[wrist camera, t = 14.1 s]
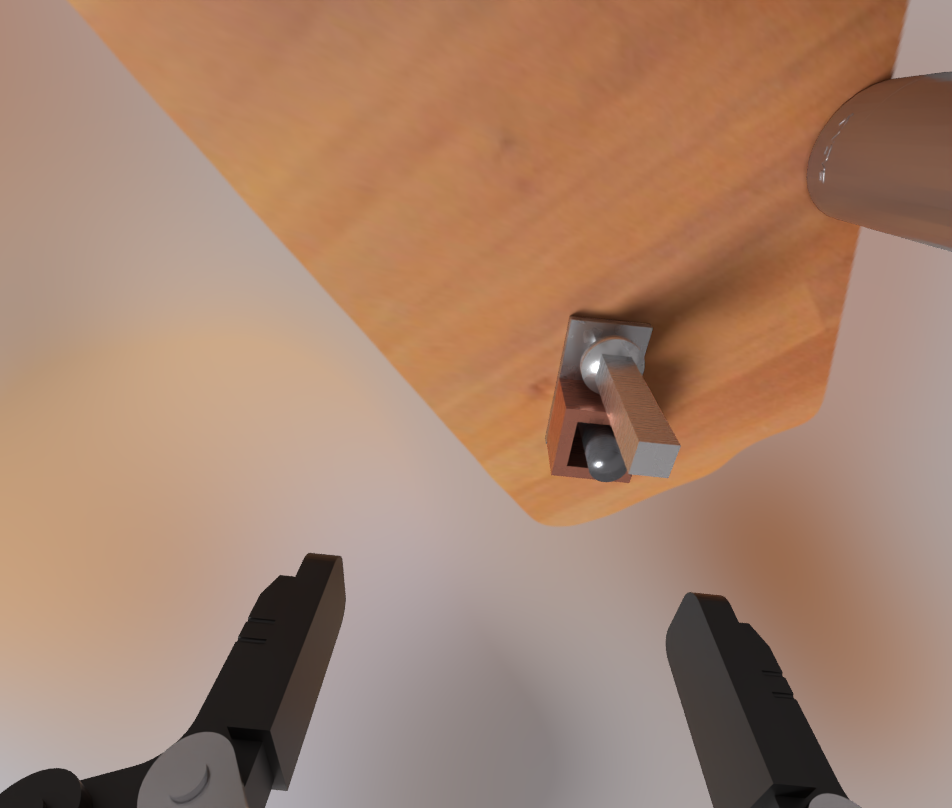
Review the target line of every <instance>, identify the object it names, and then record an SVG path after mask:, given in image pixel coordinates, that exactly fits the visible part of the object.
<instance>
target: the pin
mask: <svg viewBox="0 0 952 808" xmlns="http://www.w3.org/2000/svg"><path fill="white" fill-rule="evenodd" d="M578 426H579V430H580V434H581V439H582V443H583V447H584V452H585V456H586V460H587V465H588V469H589V473H590V475H591V476H592V477H593V478H594V479H596V480H598V481H601V482H611V481H615V480H617V479H619V478H621V477H622V476H623V475H624V474H625V473H626V471H627V468H626V466H625V463H624V460H623V457H622V455H621V452H620V449H619V446H618V443H617V441H616V438H615V435H614V432H613V429H612V427H611V425H603V424H593V423H583V422H578Z"/></svg>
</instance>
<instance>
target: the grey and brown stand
mask: <svg viewBox="0 0 952 808" xmlns="http://www.w3.org/2000/svg"><path fill="white" fill-rule="evenodd" d="M652 330H653V327H652V326H651V325H650V324H646V323H637V322H627V321H617V320H607V319H598V318H588V317H578V316H570V317H569V322H568V327H567V332H566V337H565V342H564V347H563V352H562V357H561V362H560V367H559V372H558V377H557V382H556V387H555V392H554V397H553V402H552V407H551V412H550V417H549V422H548V426H547V431H546V436H545V440H546V444H547V447H548V454H549V462H550V469H551V475H556V476H566V477H576V478H586V479H594V478H593V477H592V476H591V475H590V473H589V469H588V465H587V460H586V456H585V452H584V447H583V443H582V439H581V434H580V430H579V426H578V422H583V423H593V424H603V425H611V427H612V429H613V432H614V435H615V438H616V441H617V443H618V446H619V449H620V452H621V455H622V457H623V460H624V463H625V466H626V468H627V471H626V473H625V474H624V475H623V476H622V477H621V478H619V479H617V480H615V482H625V483H629V482H630V479H631V476H632V474H633V475H643V476H653V477H663V478H668V477H669V475H670V472H671V470H672V467H673V465H674V462H675V459H676V457H677V454H678V452H679V449H680V447H681V445H680V443H679V442H678V440H677V438H676V436H675V434H674V433H673V431H672V429H671V427H670V425H669V424H668V422H667V420H666V418H665V416H664V414H663V413H662V411H661V409H660V407H659V405H658V404H657V402H656V400H655V398H654V396H653V395H652V393H651V391H650V389H649V387H648V386H647V384H646V382H645V380H644V378H643V377H642V375H643V372H644V368H645V361H644V356H645V353H646V349H647V346H648V343H649V340H650V336H651V333H652Z"/></svg>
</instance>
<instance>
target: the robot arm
mask: <svg viewBox="0 0 952 808" xmlns="http://www.w3.org/2000/svg"><path fill="white" fill-rule="evenodd" d="M807 184H808V191H809V193H810V196H811V199H812V201H813V202H814V203H815V205H816V206H817V207H818V209H819V210H821V211H822V212H823V213H825V214H826V215H828V216H830V217H833V218H836V219H838V220H842V221H845V222H849V223H853V224H856V225H860V226H863V227H866V228H870V229H873V230H876V231H880V232H884V233H887V234H891V235H894V236H898V237H901V238H905V239H908V240H912V241H915V242H919V243H923V244H926V245H930V246H933V247H937V248H941V249H944V250H948V251H951V252H952V72H942V73H935V74H927V75H919V76H911V77H904V78H896V79H889V80H886V81H883V82H880V83H877V84H874V85H872V86H870V87H869V88H867V89H865V90H863V91H861V92H860V93H858V94H856V95H855V96H854V97H853V98H851V99H850V100H849V101H848V102H846V103H845V104H844V105H843V106H842V107H841V108H840V109H839V110H838V111H837V112H836V113H835V114H834V115H833V116H832V117H831V118H830V120H829V121H828V123H827V124H826V125H825V127H824V128H823V130H822V131H821V132H820V134H819V136H818V138H817V140H816V142H815V144H814V146H813V149H812V152H811V155H810V158H809V162H808V169H807ZM345 602H346V595H345V584H344V574H343V562H342V558H341V556H335V555H325V554H315V553H308V554H307V555H306V556H305V558H304V560H303V562H302V564H301V566H300V568H299V570H298V572H297V575H296V577H293V576H283V575H280V576H279V577H278V578H276V580H275V581H273V582H272V583H271V585H269V586H268V587H267V588H266V589H265V590H264V591H263V592H262V593H261V594H260V596H259V598H258V600H257V602H256V604H255V606H254V607H253V609H252V611H251V613H250V615H249V617H248V622H246V623H245V625H244V627H243V629H242V631H241V633H240V635H239V636H238V641H237V642H235V644H234V646H233V648H232V650H231V652H230V654H229V656H228V658H227V660H226V662H225V664H224V665H223V667H222V669H221V671H220V673H219V675H218V677H217V679H216V681H215V683H214V685H213V687H212V689H211V691H210V692H209V695H208V696H207V698H206V700H205V702H204V704H203V706H202V708H201V710H200V712H199V714H198V716H197V717H196V719H195V721H194V722H193V724H192V725H191V727H190V728H189V729H188V731H187V732H186V733H185V734H184V735H183V736H182V737H181V738H180V739H179V740H178V741H177V742H176V743H175V744H173V745H172V746H171V747H169V748H168V749H167V750H166V751H165V752H164V753H162V754H160V755H159V756H157V757H155V758H154V759H151V760H149V761H147V762H145V763H142V764H139V765H136V766H133V767H129V768H125V769H121V770H117V771H114V772H110V773H106V774H103V775H99V776H95V777H91V778H87V779H84V780H79V779H78V778H77V776H76V775H74V774H73V773H72V772H71V771H68V770H66V769H60V768H56V769H55V768H54V769H47V770H42V771H39V772H36V773H33V774H31V775H29V776H27V777H25V778H23V779H21V780H19V781H18V782H16V783H14V784H13V785H11V786H10V787H9V788H7V789H6V790H5V791H3V792H2V793H1V794H0V808H265V806H266V803H267V800H268V797H269V794H270V791H271V789H274V790H283V791H287V790H288V787H289V784H290V781H291V778H292V775H293V772H294V769H295V766H296V763H297V760H298V756H299V754H300V750H301V747H302V744H303V741H304V738H305V735H306V732H307V729H308V726H309V723H310V720H311V717H312V714H313V710H314V707H315V704H316V701H317V698H318V695H319V692H320V689H321V686H322V683H323V680H324V677H325V673H326V670H327V667H328V664H329V661H330V658H331V655H332V652H333V649H334V645H335V643H336V639H337V636H338V633H339V630H340V627H341V624H342V620H343V616H344V610H345ZM666 651H667V658H668V661H669V665H670V667H671V671H672V674H673V677H674V681H675V684H676V687H677V691H678V694H679V697H680V700H681V704H682V707H683V709H684V713H685V717H686V720H687V723H688V726H689V730H690V733H691V736H692V739H693V743H694V746H695V749H696V752H697V755H698V759H699V762H700V765H701V768H702V772H703V775H704V778H705V781H706V785H707V788H708V791H709V794H710V798H711V801H712V804H713V807H714V808H861V807H860V806H859V805H857V804H855V803H854V802H852V801H850V800H849V798H848V797H847V795H846V794H845V792H844V791H843V789H842V787H841V786H840V784H839V782H838V780H837V778H836V776H835V774H834V772H833V771H832V768H831V767H830V765H829V763H828V761H827V759H826V757H825V755H824V753H823V751H822V749H821V747H820V745H819V743H818V741H817V739H816V737H815V735H814V733H813V731H812V729H811V727H810V725H809V724H808V722H807V719H806V718H805V716H804V714H803V712H802V710H801V708H800V706H799V704H798V702H797V700H796V699H794V698H793V692H792V690H791V688H790V686H789V685H788V682H787V680H786V678H784V677H783V676H782V670H781V669H780V667H779V665H778V663H777V661H776V659H775V657H774V655H773V653H772V651H771V649H770V647H769V646H768V645H767V644H766V643H765V641H764V640H763V639H762V638H761V637H760V636H759V634H758V633H757V632H756V631H755V630H754V629H753V628H752V627H751V625H750V624H748V623H739V622H738V620H737V618H736V616H735V613H734V611H733V609H732V607H731V605H730V603H729V602H728V600H727V599H726V598H725V597H723V596H721V595H711V594H701V593H691V592H689V593H687V594H686V595H685V596H684V598H683V600H682V602H681V604H680V606H679V608H678V610H677V612H676V614H675V616H674V619H673V620H672V623H671V624H670V626H669V628H668V631H667V635H666Z"/></svg>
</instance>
